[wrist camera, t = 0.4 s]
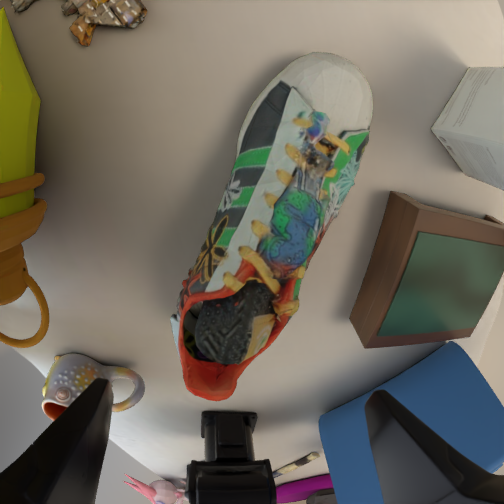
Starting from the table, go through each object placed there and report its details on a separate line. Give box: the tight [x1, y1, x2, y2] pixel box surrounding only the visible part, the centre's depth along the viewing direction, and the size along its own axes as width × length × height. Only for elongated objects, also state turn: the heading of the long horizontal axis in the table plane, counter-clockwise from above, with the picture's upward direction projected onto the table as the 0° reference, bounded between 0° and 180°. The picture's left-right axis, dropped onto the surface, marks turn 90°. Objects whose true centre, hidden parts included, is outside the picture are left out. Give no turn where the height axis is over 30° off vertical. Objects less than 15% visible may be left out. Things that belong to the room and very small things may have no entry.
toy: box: [124, 475, 189, 504], centre depth 41 cm, size 15×7×20 cm
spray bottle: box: [276, 474, 334, 503], centre depth 48 cm, size 3×11×24 cm
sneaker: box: [170, 52, 373, 401], centre depth 16 cm, size 8×21×10 cm, turn 155°
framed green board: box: [349, 191, 504, 349], centre depth 22 cm, size 12×14×4 cm
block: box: [319, 341, 504, 504], centre depth 26 cm, size 18×18×18 cm
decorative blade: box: [273, 453, 320, 478], centre depth 42 cm, size 21×1×5 cm
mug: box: [42, 353, 145, 421], centre depth 24 cm, size 12×7×7 cm, turn 101°
